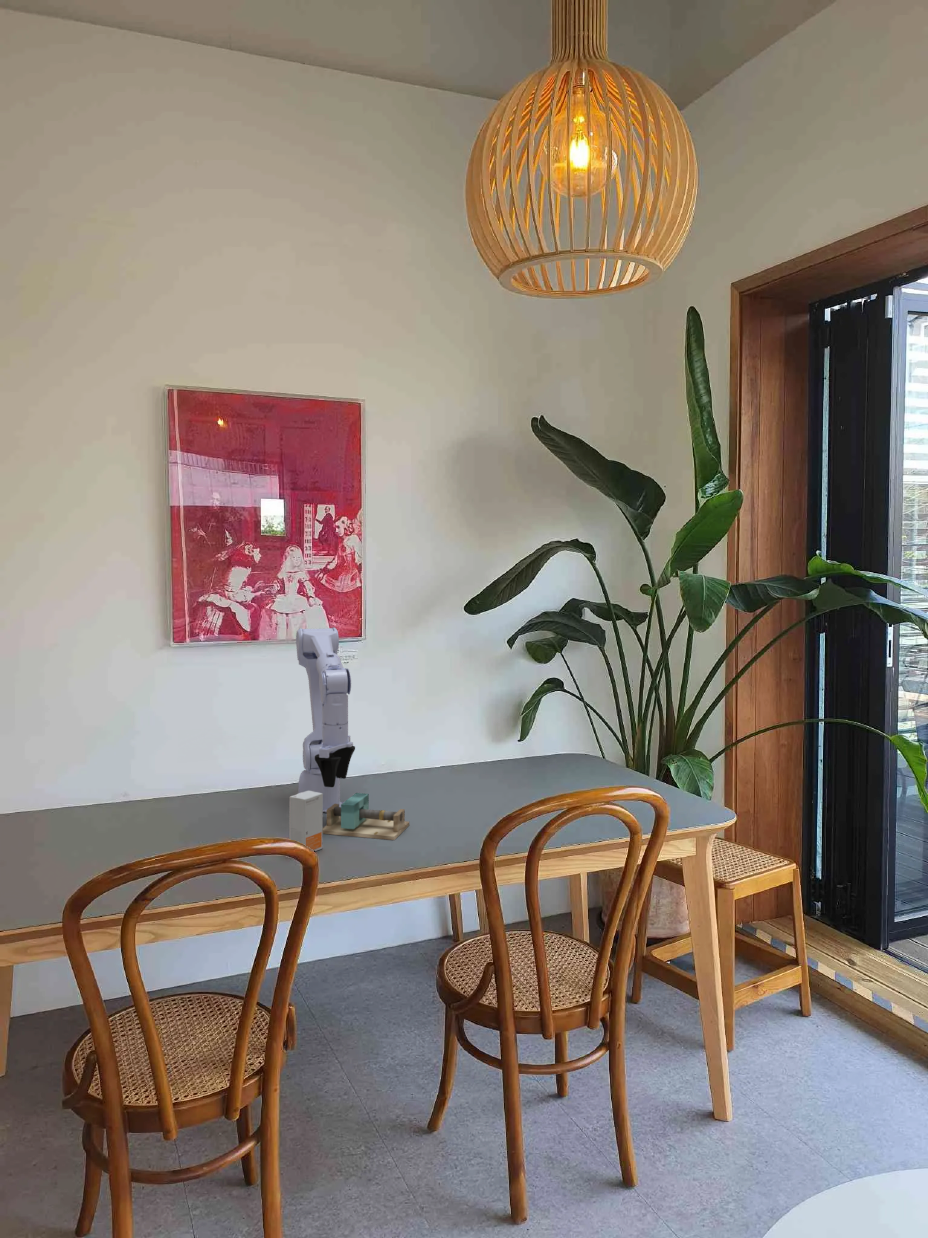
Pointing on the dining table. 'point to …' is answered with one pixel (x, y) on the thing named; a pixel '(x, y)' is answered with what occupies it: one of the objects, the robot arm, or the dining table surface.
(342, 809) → the collar
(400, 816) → the pipe jig
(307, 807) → the skincare box
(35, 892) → the dining table surface
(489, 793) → the dining table surface
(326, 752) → the robot arm
